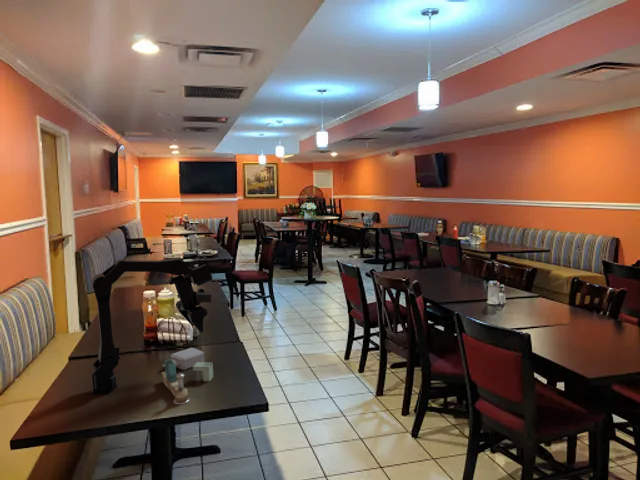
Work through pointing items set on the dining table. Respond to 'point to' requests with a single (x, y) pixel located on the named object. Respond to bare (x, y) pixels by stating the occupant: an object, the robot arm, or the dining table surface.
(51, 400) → the dining table surface
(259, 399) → the dining table surface
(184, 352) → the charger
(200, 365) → the block
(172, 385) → the link
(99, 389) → the robot arm
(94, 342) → the dining table surface
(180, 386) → the pintle
